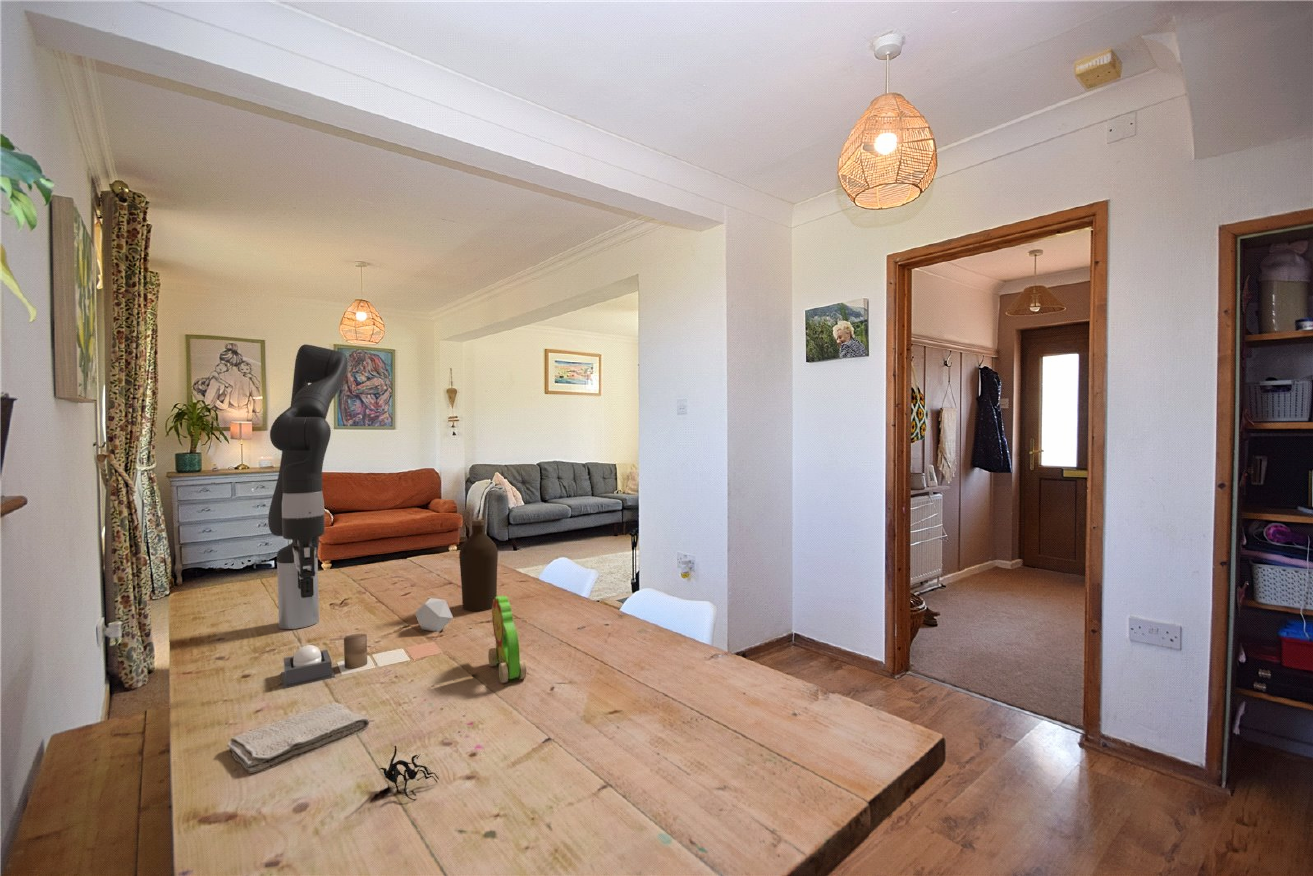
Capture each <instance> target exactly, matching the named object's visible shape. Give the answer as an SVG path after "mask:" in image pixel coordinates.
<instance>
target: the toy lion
mask: <svg viewBox="0 0 1313 876" xmlns="http://www.w3.org/2000/svg"><path fill="white" fill-rule="evenodd" d="M491 615H492V616H491V620H492V621H491V623H492V627H493V636H494V638H495V647H492V648H489V649H488V654H487V657H488V664H489V667H496V666H497V664H498V677H499V683H501V684H505V683H508V681H509V680H512V679H516V678H518V679H519V680H524V679H526V677H527V664H526V662H525V660H524V659H521V657H520V642H519V636H518V632H517V628H516V625H515V623H514V618H513V612H512V606H511V603H510V601H509V597H508V596H506V595H499V596H497V597H495V599H494V600H493V606H492V608H491Z"/></svg>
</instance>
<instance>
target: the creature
mask: <svg viewBox="0 0 1313 876" xmlns="http://www.w3.org/2000/svg"><path fill="white" fill-rule="evenodd" d="M393 747H394V752H393V755H392V757H391V759H390V763H389V766H388V768H386V767H380V768H379V770H382V771H383V775H384V778H385V779H387V780H388V781H390V783H393V784H394V785H395V787H396V788H395V789H396V794H402V793H403V794H404V795H405V796H406V797H407V798H408V799H410V800H412V801H417V800H418V799H417V798H411V797H410V796H409V795H408V794H409V793H408V791H407V785H408V781H409V780H411V781H413V780H415V779H416V780H417V782H418V781H419V780H421V779H422V778H424V779H425V780H428V779H430V778H433V779H434V781H435V783H438V780H440V779H439V776H438V775H437V774H436V772H432V771H431V770H429V769H428V767H427V766H426V765H421V764H417V760H418V759H419V757H420V756H421V754H415V755H413V756H412V757H411V759H410V760H411V762H408V761H406V760H403V759H399V760H397V761H395V762H394V760H395V759H396V756H397V745H394V746H393ZM415 761H416V762H415ZM410 765H413V767H414V768H413V769H412V768H411V766H410ZM398 766H403V768H405V769H404V770H403V773H402V772H401V771H400V769H398V768H399V767H398ZM421 768H423V769H424V770H423V769H421ZM415 769H417V770H415ZM419 772H422V774H423V776H421V777H420V778H417V775H418V773H419ZM433 775H434V776H435V777H436V778H435V777H434V776H433ZM399 776H402V778H403V781H404V782H405V783H404V786H403V791H400V790H399V785H398V784H397V783H398V778H399ZM410 793H413V794H414V796H415V797H417V795H416V793H415V792H414V790H413V789H412V790H411V791H410Z"/></svg>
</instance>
